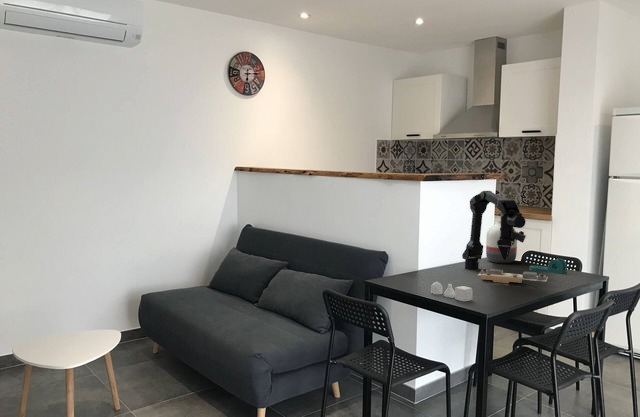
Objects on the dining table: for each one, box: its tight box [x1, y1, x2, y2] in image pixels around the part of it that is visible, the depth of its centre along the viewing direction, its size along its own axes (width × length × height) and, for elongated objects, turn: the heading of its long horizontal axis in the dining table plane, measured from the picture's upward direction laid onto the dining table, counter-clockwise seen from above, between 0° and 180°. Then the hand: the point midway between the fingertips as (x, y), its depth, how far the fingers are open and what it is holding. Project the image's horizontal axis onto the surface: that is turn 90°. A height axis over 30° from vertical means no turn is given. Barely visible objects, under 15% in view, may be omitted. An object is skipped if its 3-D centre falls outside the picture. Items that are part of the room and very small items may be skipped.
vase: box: [485, 220, 518, 264], centre depth 307 cm, size 17×17×24 cm
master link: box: [480, 273, 523, 286], centre depth 250 cm, size 18×4×5 cm, turn 63°
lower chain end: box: [480, 268, 504, 275], centre depth 267 cm, size 10×6×2 cm, turn 63°
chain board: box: [477, 271, 549, 282], centre depth 263 cm, size 32×12×1 cm, turn 63°
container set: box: [430, 281, 473, 302], centre depth 225 cm, size 20×5×6 cm, turn 34°
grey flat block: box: [522, 271, 547, 280], centre depth 258 cm, size 10×6×2 cm, turn 63°
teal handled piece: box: [529, 258, 568, 275], centre depth 277 cm, size 18×7×8 cm, turn 41°
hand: (506, 258), depth 251 cm, fingers open, 9 cm apart
